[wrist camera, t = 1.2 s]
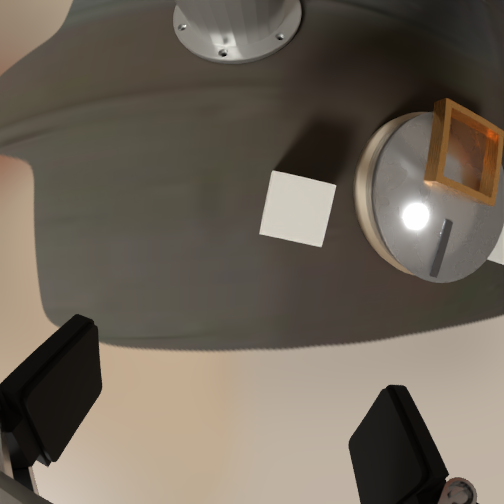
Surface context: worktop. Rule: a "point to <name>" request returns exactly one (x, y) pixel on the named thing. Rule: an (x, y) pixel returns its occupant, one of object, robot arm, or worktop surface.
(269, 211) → the white rectangular block
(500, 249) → the mat
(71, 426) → the robot arm
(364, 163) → the base
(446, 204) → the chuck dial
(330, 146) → the worktop surface
